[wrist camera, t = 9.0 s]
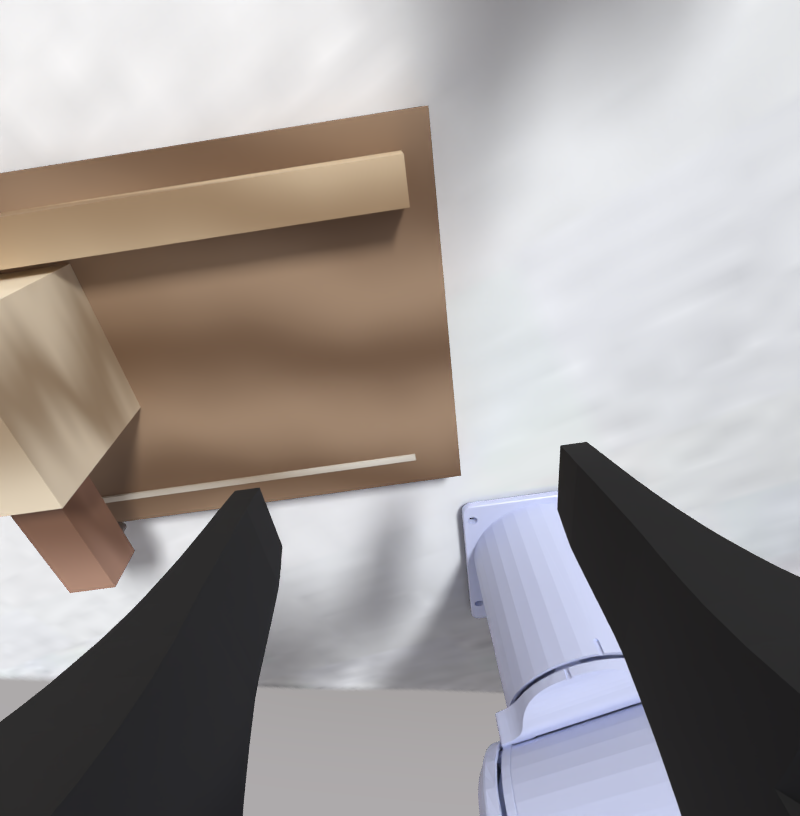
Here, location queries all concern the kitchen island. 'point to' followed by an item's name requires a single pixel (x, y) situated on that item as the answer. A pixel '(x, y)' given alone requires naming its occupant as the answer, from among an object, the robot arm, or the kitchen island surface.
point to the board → (258, 308)
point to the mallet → (60, 425)
